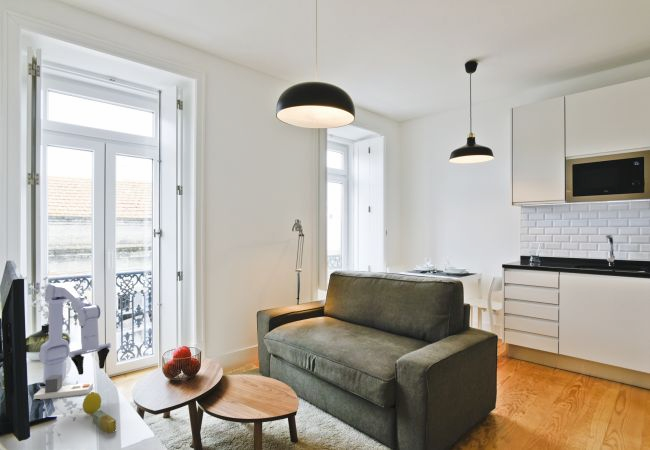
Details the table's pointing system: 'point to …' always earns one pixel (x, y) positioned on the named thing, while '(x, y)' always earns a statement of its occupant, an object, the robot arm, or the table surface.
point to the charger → (53, 383)
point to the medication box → (104, 421)
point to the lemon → (91, 403)
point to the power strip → (65, 391)
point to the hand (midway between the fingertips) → (91, 371)
